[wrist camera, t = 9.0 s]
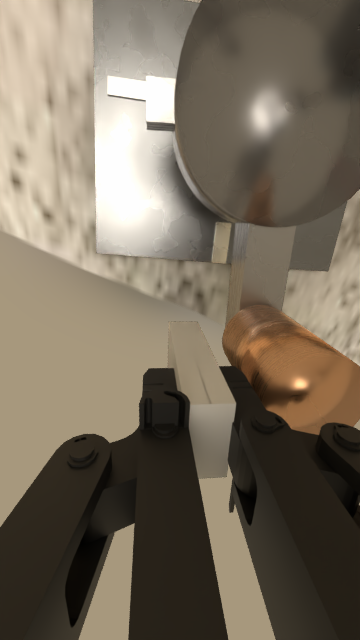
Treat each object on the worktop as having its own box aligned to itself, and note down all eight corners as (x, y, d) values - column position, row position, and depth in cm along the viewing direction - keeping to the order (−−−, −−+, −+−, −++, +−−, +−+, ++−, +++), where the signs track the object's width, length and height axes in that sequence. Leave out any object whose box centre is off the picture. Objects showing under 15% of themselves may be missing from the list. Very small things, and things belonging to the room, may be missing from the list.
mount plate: (374, 52, 20) (493, -40, 13) (318, 268, 25) (381, 286, 18) (97, 1, 18) (60, -145, 11) (99, 251, 23) (76, 263, 16)
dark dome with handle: (146, -19, 12) (131, -543, 4) (403, 14, 13) (814, -331, 5) (148, 350, 18) (144, 455, 10) (323, 348, 19) (449, 441, 11)
